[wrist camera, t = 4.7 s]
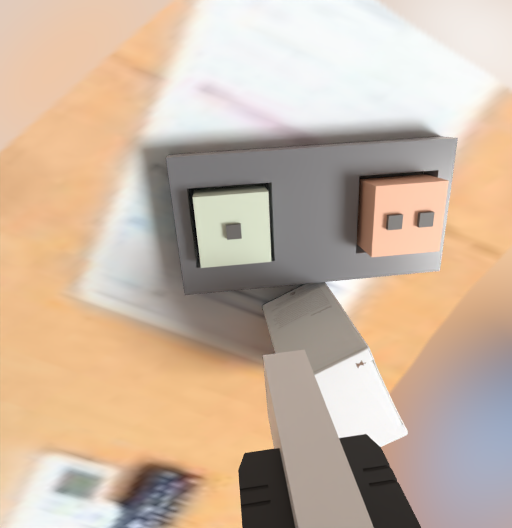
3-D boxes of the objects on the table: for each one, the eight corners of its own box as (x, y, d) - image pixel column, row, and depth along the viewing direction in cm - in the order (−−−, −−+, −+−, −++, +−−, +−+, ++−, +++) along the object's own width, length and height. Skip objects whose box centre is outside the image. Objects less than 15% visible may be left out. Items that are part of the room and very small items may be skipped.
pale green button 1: (202, 253, 30) (200, 269, 26) (194, 189, 28) (192, 198, 25) (265, 248, 30) (272, 263, 27) (263, 183, 28) (268, 192, 25)
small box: (260, 303, 32) (281, 387, 22) (321, 273, 31) (369, 345, 22) (299, 371, 35) (332, 471, 25) (354, 345, 34) (410, 436, 25)
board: (186, 284, 30) (184, 295, 29) (169, 154, 27) (165, 157, 25) (426, 261, 32) (439, 270, 30) (441, 136, 28) (457, 138, 26)
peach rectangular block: (356, 243, 30) (373, 258, 27) (359, 179, 28) (377, 187, 25) (418, 238, 30) (441, 252, 27) (425, 174, 28) (451, 181, 25)
